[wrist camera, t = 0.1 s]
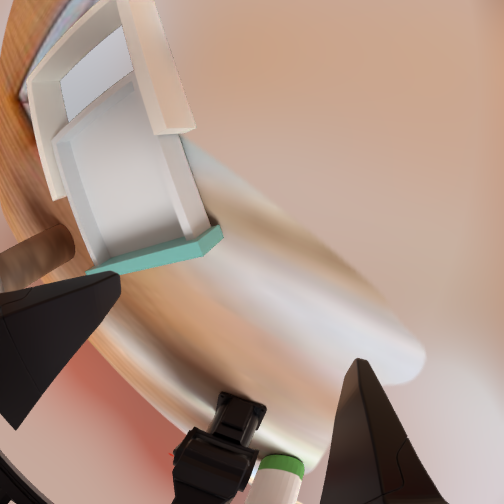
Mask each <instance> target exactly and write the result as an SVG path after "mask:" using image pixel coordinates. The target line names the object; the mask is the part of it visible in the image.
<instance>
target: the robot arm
mask: <svg viewBox="0 0 504 504" xmlns="http://www.w3.org/2000/svg"><path fill="white" fill-rule="evenodd" d="M120 295H121V283H120V276H119V274H118V273H116V272H114V271H111V270H109V271H104V272H100V273H95V274H90V275H85V276H81V277H76V278H72V279H67V280H62V281H58V282H53V283H49V284H44V285H40V286H35V287H31V288H26V289H21V290H16V291H10V292H4V293H0V414H1V415H2V416H3V417H4V418H5V419H6V421H7V422H8V423H9V424H10V425H11V426H12V427H13V428H14V430H17V429H18V427H19V426H20V425H21V423H22V422H23V420H24V419H25V418H26V416H27V415H28V414H29V412H30V411H31V409H32V408H33V407H34V405H35V404H36V403H37V401H38V400H39V399H40V397H41V396H42V394H43V393H44V392H45V391H46V389H47V388H48V387H49V385H50V384H51V383H52V382H53V380H54V379H55V378H56V376H57V375H58V374H59V373H60V371H61V370H62V369H63V367H64V366H65V365H66V364H67V363H68V361H69V360H70V359H71V358H72V357H73V355H74V354H75V353H76V352H77V351H78V349H79V348H80V347H81V345H83V343H84V342H85V341H86V340H87V339H88V338H89V336H90V335H91V334H92V333H93V332H94V331H95V329H96V328H97V327H98V326H99V325H100V323H101V322H102V321H103V319H104V318H105V316H106V315H107V314H108V312H109V311H110V309H111V308H112V307H113V305H114V304H115V302H116V301H117V300H118V298H119V297H120ZM266 411H267V408H266V407H264V406H261V405H258V404H255V403H252V402H249V401H246V400H243V399H240V398H238V397H235V396H232V395H229V394H227V393H224V392H220V394H219V397H218V403H217V408H216V413H215V416H214V418H213V420H212V422H211V424H210V426H209V428H208V430H207V431H206V432H205V431H202V430H200V429H198V428H197V427H194V428H193V429H192V430H189V432H188V433H187V435H186V437H185V439H184V440H183V441H182V442H181V443H180V444H179V445H178V446H177V447H176V448H175V449H174V451H173V454H174V461H173V465H174V466H175V467H174V469H173V471H172V474H173V482H174V490H175V498H174V500H173V502H172V504H230V503H231V501H232V500H233V498H234V497H235V495H236V493H237V491H241V492H243V491H244V489H245V487H246V485H247V483H248V481H249V479H250V476H251V473H252V471H253V468H254V465H255V462H256V459H257V456H258V453H259V450H256V449H255V450H254V449H251V448H248V447H249V445H250V442H251V440H252V437H253V435H254V432H255V430H258V428H259V426H260V424H261V422H262V420H263V418H264V415H265V413H266ZM10 500H12V501H13V502H15V503H16V504H54V503H53V502H51V501H50V500H49V499H48V498H47V497H46V496H45V495H44V494H42V493H41V492H40V491H39V490H38V489H37V488H36V487H35V486H34V485H33V484H32V483H31V482H30V481H29V480H28V479H27V478H25V476H23V474H22V473H21V472H20V471H19V470H18V469H17V468H16V467H15V466H14V465H13V464H12V463H11V462H10V461H9V459H8V458H7V457H6V456H5V455H4V454H3V453H2V451H1V450H0V504H8V503H9V502H10ZM320 504H449V503H448V502H446V501H445V500H444V498H443V497H442V496H441V494H440V493H439V491H438V490H437V488H436V486H435V485H434V483H433V481H432V480H431V478H430V476H429V475H428V473H427V471H426V470H425V468H424V467H423V465H422V463H421V461H420V460H419V458H418V456H417V454H416V452H415V450H414V448H413V446H412V444H411V442H410V440H409V438H407V434H406V432H405V430H404V428H403V426H402V424H401V422H400V421H399V418H398V417H397V415H396V413H395V411H394V409H393V407H392V405H391V403H390V401H389V399H388V397H387V395H386V393H385V392H384V390H383V388H382V386H381V384H380V382H379V380H378V379H377V377H376V375H375V373H374V371H373V369H372V368H371V366H370V364H369V362H368V361H367V360H364V359H360V358H356V359H355V360H354V361H353V363H352V365H351V366H350V368H349V370H348V371H347V373H346V375H345V378H344V382H343V386H342V391H341V395H340V399H339V403H338V407H337V411H336V416H335V421H334V428H333V435H332V442H331V448H330V455H329V460H328V466H327V471H326V477H325V481H324V486H323V492H322V496H321V500H320Z"/></svg>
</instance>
